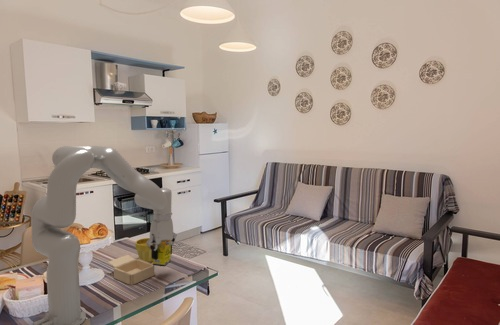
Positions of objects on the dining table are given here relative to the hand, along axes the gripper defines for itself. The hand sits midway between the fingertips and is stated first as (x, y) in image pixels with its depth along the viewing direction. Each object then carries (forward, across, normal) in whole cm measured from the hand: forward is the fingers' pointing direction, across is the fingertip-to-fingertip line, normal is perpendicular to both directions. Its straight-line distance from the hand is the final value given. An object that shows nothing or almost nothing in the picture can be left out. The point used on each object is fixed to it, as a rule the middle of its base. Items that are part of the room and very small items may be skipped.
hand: (161, 256), depth 153 cm
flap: (+5, +7, -19) cm, 21 cm away
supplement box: (+4, 0, 0) cm, 4 cm away
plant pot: (+9, -8, -20) cm, 24 cm away
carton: (+10, +7, -10) cm, 15 cm away
